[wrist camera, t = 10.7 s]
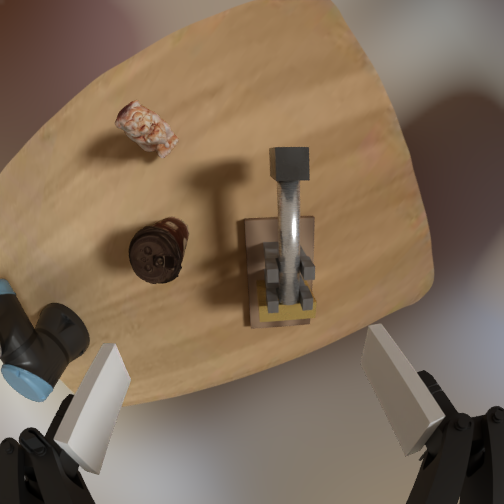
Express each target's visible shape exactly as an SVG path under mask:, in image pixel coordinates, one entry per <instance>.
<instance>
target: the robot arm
mask: <svg viewBox="0 0 504 504" xmlns="http://www.w3.org/2000/svg"><path fill="white" fill-rule="evenodd" d="M89 342H90V339H89V334H88V331H87V329H86V327H85V325H84V323H83V322H82V320H81V319H80V318H79V317H78V316H77V315H76V314H75V313H74V312H73V311H72V310H71V309H69V308H68V307H66V306H64V305H62V304H58V303H51V304H49V305H47V306H46V307H45V308H44V309H43V310H42V312H41V314H40V317H39V320H38V322H37V324H36V327H35V329H34V327H33V325H32V324H31V322H30V320H29V319H28V317H27V315H26V313H25V312H24V310H23V308H22V306H21V304H20V302H19V300H18V298H17V297H16V293H15V292H14V291H13V289H12V288H11V286H10V284H9V282H8V281H7V280H5V279H0V359H1V360H2V362H3V365H2V368H1V372H2V374H3V377H4V378H5V379H6V381H7V382H8V384H9V385H10V386H11V387H12V388H14V389H15V390H16V391H17V392H18V393H20V394H21V395H23V396H24V397H26V398H28V399H30V400H32V401H36V402H43V401H44V400H46V398H47V397H48V396H49V394H50V393H51V392H52V391H53V388H54V387H55V385H56V383H57V382H58V379H59V378H60V377H61V375H62V374H63V372H64V370H65V369H66V367H67V366H68V364H69V363H70V362H72V361H73V360H75V359H76V358H78V357H79V356H81V355H82V354H83V353H84V352H85V351H86V349H87V348H88V346H89ZM360 365H361V367H362V369H363V371H364V373H365V375H366V377H367V378H368V380H369V382H370V384H371V386H372V388H373V390H374V392H375V394H376V396H377V398H378V400H379V402H380V404H381V406H382V408H383V410H384V412H385V414H386V416H387V418H388V420H389V422H390V424H391V427H392V429H393V431H394V433H395V435H396V437H397V439H398V441H399V444H400V446H401V448H402V450H403V452H404V454H405V456H409V455H411V454H413V453H415V452H418V451H420V450H421V449H422V447H423V446H424V445H426V447H427V450H426V451H425V452H424V454H423V455H422V456H421V457H420V459H419V460H420V461H421V460H422V459H423V461H422V464H421V467H420V470H419V473H418V475H417V478H416V481H415V483H414V486H413V488H412V491H411V493H410V496H409V498H408V500H407V502H406V504H457V503H458V500H459V497H460V503H459V504H504V409H503V408H501V407H499V406H494V407H491V409H489V410H488V412H487V413H486V414H485V415H481V416H476V417H470V416H469V415H467V414H464V413H458V412H457V410H456V409H455V408H454V406H453V405H452V403H451V402H450V400H449V399H448V397H447V396H446V394H445V393H444V392H443V391H442V389H441V387H440V386H439V385H438V384H437V382H436V380H435V379H434V377H433V376H432V375H430V374H429V373H428V372H426V371H425V370H423V371H420V372H416V371H415V370H414V368H413V367H412V365H411V364H410V362H409V361H408V360H407V358H406V357H405V356H404V354H403V353H402V351H401V350H400V348H399V347H398V346H397V344H396V343H395V342H394V340H393V339H392V337H391V336H390V335H389V334H388V332H387V331H386V329H385V328H384V327H383V326H382V324H376V325H371V326H368V331H367V336H366V341H365V345H364V350H363V354H362V359H361V363H360ZM130 382H131V379H130V376H129V374H128V372H127V370H126V368H125V365H124V363H123V361H122V358H121V356H120V354H119V351H118V349H117V346H116V344H114V343H103V345H102V346H101V348H100V350H99V352H98V353H97V355H96V357H95V359H94V360H93V362H92V364H91V366H90V368H89V369H88V371H87V373H86V375H85V377H84V378H83V380H82V382H81V384H80V386H79V388H78V390H77V392H76V394H75V395H72V394H69V395H68V396H67V397H66V398H65V399H64V400H63V401H62V403H61V405H60V407H59V410H58V411H57V413H56V416H55V417H54V419H53V421H52V423H51V425H50V427H49V429H48V431H47V433H46V435H45V437H44V436H43V435H42V434H41V433H40V431H38V430H37V429H36V428H32V427H31V428H27V429H25V430H24V431H23V432H22V433H21V434H20V436H19V443H20V444H19V443H18V442H17V441H16V440H15V439H13V438H6V439H4V440H3V441H2V442H1V444H0V504H95V502H94V500H93V498H92V497H91V495H90V492H89V490H88V489H87V486H86V484H85V482H84V480H83V478H82V476H81V474H80V472H79V471H78V467H79V465H80V466H81V467H82V468H83V469H84V470H85V471H87V472H91V473H94V474H98V475H99V473H100V470H101V467H102V463H103V460H104V457H105V454H106V450H107V447H108V444H109V441H110V438H111V435H112V432H113V429H114V426H115V423H116V420H117V417H118V414H119V411H120V409H121V406H122V403H123V400H124V398H125V395H126V392H127V389H128V387H129V384H130Z"/></svg>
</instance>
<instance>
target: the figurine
mask: <svg viewBox="0 0 504 504" xmlns="http://www.w3.org/2000/svg"><path fill="white" fill-rule="evenodd" d="M115 125H116V126H117V127H118V128H120V129H122V130H124V131H125V134H126V135H127V136H128V137H129V138H130V139H131V140H133V141H134V142H136V143H137V144H138V145H139V146H140V147H141V148H142V149H143V150H145V151H148V152H151V151H156V152H157V153H158V155H159V157H161V158H165V157H166V156H167V155H168V154H170V152H171V151H172V149H173V148H174V147H175V145H176V144H177V143H178V138H177V137H176V135H175V134H174V133H173V132H172V131H171V128H170V126H169V125H168V124H167V123H166V122H165V121H164V120H163V119H161V118H160V117H159V115H158V114H157V113H155V112H153V111H151V110H149V109H147V108H146V107H144V106H142V105H140V104H139V101H138V100H135V101H132V102H131V103H129V104H128V105H126V106H125V107H124V108H123V109H122V110H121V111H120V112H119V113H118V116H117V119H116V121H115Z"/></svg>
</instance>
